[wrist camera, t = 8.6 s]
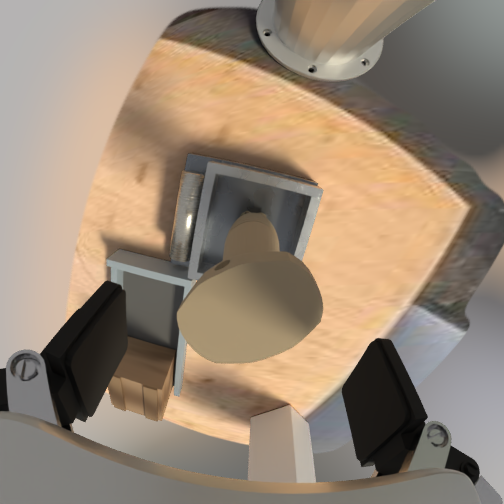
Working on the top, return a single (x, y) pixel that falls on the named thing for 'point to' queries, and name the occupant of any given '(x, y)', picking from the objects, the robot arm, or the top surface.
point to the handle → (250, 298)
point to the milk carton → (280, 448)
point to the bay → (153, 301)
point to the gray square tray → (237, 209)
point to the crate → (143, 379)
